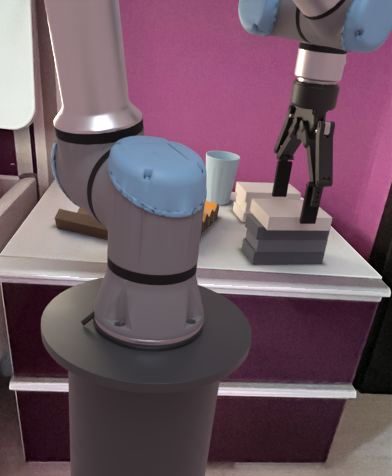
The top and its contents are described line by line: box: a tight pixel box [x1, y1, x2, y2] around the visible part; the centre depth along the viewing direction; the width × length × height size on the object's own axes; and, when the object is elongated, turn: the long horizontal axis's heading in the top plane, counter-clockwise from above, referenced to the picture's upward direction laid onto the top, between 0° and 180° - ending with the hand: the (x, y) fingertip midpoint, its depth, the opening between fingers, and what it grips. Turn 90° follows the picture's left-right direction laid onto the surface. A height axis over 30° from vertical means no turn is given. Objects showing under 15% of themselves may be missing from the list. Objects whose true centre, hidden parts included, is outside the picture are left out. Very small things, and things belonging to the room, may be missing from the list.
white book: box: [250, 198, 333, 232], centre depth 102 cm, size 12×10×2 cm
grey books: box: [241, 214, 330, 265], centre depth 104 cm, size 14×6×7 cm, turn 104°
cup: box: [205, 150, 241, 206], centre depth 127 cm, size 8×8×10 cm
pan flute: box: [54, 200, 220, 240], centre depth 113 cm, size 25×3×25 cm
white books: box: [232, 181, 302, 223], centre depth 122 cm, size 13×7×7 cm, turn 104°
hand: (292, 209), depth 101 cm, fingers open, 13 cm apart
